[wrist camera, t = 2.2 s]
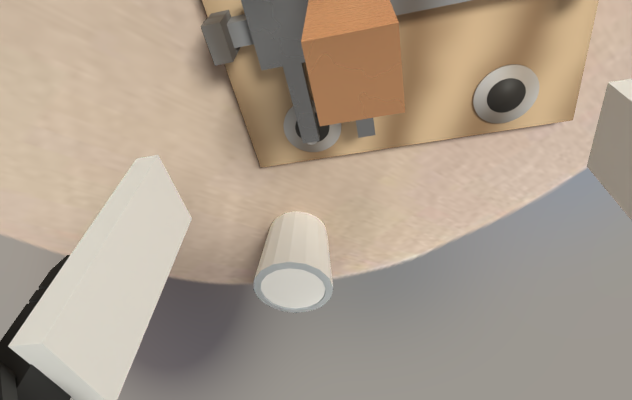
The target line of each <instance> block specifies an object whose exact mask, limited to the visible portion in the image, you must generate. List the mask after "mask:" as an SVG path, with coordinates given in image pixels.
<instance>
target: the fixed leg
mask: <svg viewBox="0 0 632 400" xmlns="http://www.w3.org/2000/svg"><path fill="white" fill-rule="evenodd" d="M308 1H309V0H241V3H242V6H243V9H244V13H245V16H246V19H247V23H248V26H249V29H250V33H251V36H252V40H253V43H254V46H255V50H256V53H257V56H258V60H259V63H260V66H261V70H267V69H272V68H278V67H283V69H284V73H285V77H286V80H287V84H288V88H289V92H290V96H291V100H292V103H293V107H294V111H295V115H296V119H297V122H298V126H299V130H300V134H301V138H302V142H303V144H304V143H308V144H310V145H313V144H315V143H317V141H319V138H320V135H319V130H318V126H317V122H316V117H315V113H314V108H313V104H312V100H311V95H310V91H309V87H308V82H307V78H306V73H305V69H304V65H303V63H304V62H305V58H304V54H303V49H302V45H301V39H302V34H303V28H304V23H305V17H306V12H307V6H308Z"/></svg>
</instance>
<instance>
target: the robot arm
mask: <svg viewBox="0 0 632 400" xmlns="http://www.w3.org/2000/svg"><path fill="white" fill-rule="evenodd" d="M587 167H588V168H589V169H590V171H591V172H592V173H593V174H594V176H595V177H596V178H597V179H598V180H599V181H600V182H601V184H602V185H603V186H604V188H605V189H606V190H607V191H608V192H609V194H610V195H611V196H612V197H613V198H614V200H615V201H616V202H617V203H618V205H619V206H620V207H621V208H622V209H623V210H624V212H625V213H626V214H627V215H628V217H629V218H630V219H631V220H632V79H627V80H620V81H614V82H608V85H607V89H606V93H605V97H604V101H603V104H602V108H601V112H600V116H599V120H598V124H597V128H596V132H595V136H594V140H593V144H592V148H591V152H590V156H589V160H588V164H587ZM191 219H192V218H191V216H190V214H189V212H188V210H187V208H186V206H185V204H184V202H183V201H182V199H181V197H180V195H179V193H178V191H177V189H176V187H175V185H174V184H173V182H172V180H171V178H170V176H169V174H168V172H167V170H166V168H165V167H164V165H163V163H162V161H161V159H160V157H159V155H155V156H149V157H142V158H136V160H135V161H134V163H133V164H132V166H131V167H130V169H129V170H128V172H127V173H126V175H125V176H124V177H123V179H122V180H121V182H120V183H119V185H118V186H117V188H116V189H115V191H114V192H113V194H112V195H111V196H110V198H109V199H108V201H107V202H106V204H105V205H104V207H103V208H102V210H101V211H100V213H99V214H98V215H97V217H96V218H95V220H94V221H93V223H92V224H91V226H90V227H89V229H88V230H87V232H86V233H85V234H84V236H83V237H82V239H81V240H80V242H79V243H78V245H77V246H76V248H75V249H74V250H73V252H72V253H71V255H67V256H66V257H65V258H64V259H63V260H61V261H60V262H59V263H58V264H57V265H56V266H55V267H54V268H53V269H52V270H50V272H49V273H48V275H47V276H46V277H45V279H44V280H43V282H42V283H41V284H40V286H39V290H36V292H35V293H34V294H33V296H32V297H31V299H30V300H29V302H30V303H29V304H26V306H25V307H24V309H23V310H22V311H21V313H20V314H19V316H18V317H17V318H16V320H15V321H14V323H13V324H12V326H11V327H10V329H9V330H8V331H7V333H6V334H5V336H4V337H3V338H2V340H1V341H0V400H70V398H72V399H73V400H117V399H118V397H119V394H120V392H121V389H122V387H123V385H124V382H125V379H126V377H127V375H128V372H129V370H130V367H131V365H132V363H133V360H134V358H135V355H136V353H137V351H138V348H139V345H140V343H141V341H142V338H143V336H144V334H145V331H146V329H147V326H148V324H149V321H150V319H151V317H152V314H153V312H154V309H155V307H156V304H157V302H158V300H159V297H160V295H161V292H162V290H163V287H164V285H165V283H166V280H167V278H168V275H169V273H170V270H171V268H172V266H173V263H174V261H175V258H176V256H177V253H178V251H179V249H180V246H181V244H182V241H183V239H184V236H185V234H186V232H187V229H188V227H189V224H190V222H191Z"/></svg>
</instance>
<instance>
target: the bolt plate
mask: <svg viewBox="0 0 632 400" xmlns="http://www.w3.org/2000/svg"><path fill="white" fill-rule="evenodd" d="M598 1H599V0H390V2H391V5H392V7H393V10H394V12H395V15H396V17H397V20H398V22H399V32H400V46H401V60H402V73H403V87H404V100H405V113H398V114H392V115H386V116H380V117H374V118H373V119H374V127H375V134H376V135H373V136H367V137H361V138H358V132H357V126H356V121H350V122H344V123H338V124H332V125H326V126H320V125H319V120H318V116H317V111H316V107H315V103H314V98H313V94H312V89H311V85H310V80H309V76H308V71H307V67H306V63H305V62H304V63H303V65H304V69H305V73H306V78H307V82H308V87H309V91H310V95H311V100H312V104H313V108H314V113H315V117H316V122H317V126H318V130H319V135H320V138H319V141H317V143H315V144H313V145H310V144H308V143H304V144H303V142H302V138H301V134H300V130H299V126H298V122H297V119H296V115H295V111H294V107H293V103H292V100H291V96H290V92H289V88H288V84H287V80H286V77H285V73H284V69H283V67H278V68H272V69H267V70H261V66H260V63H259V60H258V56H257V53H256V50H255V46H254V43H253V40H252V36H251V33H250V29H249V26H248V23H247V19H246V16H245V13H244V9H243V6H242V3H241V0H202V2H203V5H204V8H205V11H206V13H207V16H208V18H207V19H206V21H205V22H204V23H203V24H202V25H201V29H202V32H203V34H204V37H205V40H206V43H207V45H208V48H209V51H210V53H211V56H212V59H213V62H214V64H215V66H216V65H221V64H225V67H226V70H227V73H228V76H229V79H230V81H231V84H232V87H233V90H234V93H235V96H236V98H237V101H238V104H239V107H240V110H241V113H242V115H243V118H244V121H245V124H246V127H247V130H248V132H249V135H250V138H251V141H252V144H253V147H254V149H255V152H256V155H257V158H258V161H259V164H260V166H261V168H262V167H269V166H275V165H282V164H288V163H295V162H301V161H308V160H315V159H321V158H328V157H334V156H341V155H347V154H354V153H361V152H367V151H374V150H380V149H387V148H393V147H400V146H407V145H413V144H420V143H426V142H433V141H439V140H446V139H453V138H459V137H466V136H472V135H479V134H485V133H492V132H499V131H505V130H512V129H518V128H525V127H531V126H538V125H545V124H551V123H558V122H564V121H571V120H573V117H574V113H575V108H576V103H577V99H578V94H579V89H580V85H581V80H582V75H583V71H584V66H585V61H586V57H587V52H588V47H589V43H590V38H591V33H592V29H593V24H594V20H595V15H596V10H597V6H598Z"/></svg>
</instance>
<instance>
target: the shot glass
mask: <svg viewBox="0 0 632 400" xmlns="http://www.w3.org/2000/svg"><path fill="white" fill-rule="evenodd" d="M332 282H333V281H332V272H331V263H330V254H329V245H328V236H327V231H326V228H325V225H324V223H323V222H322V221H321V220H320V219H319V218H318V217H316V216H314V215H311V214H309V213H306V212H298V211H294V212H289V213H284V214H282V215H281V216H279V217H277V218H276V219H275V220H274V222H273V223H272V224H271V226H270V230H269V233H268V236H267V239H266V242H265V246H264V249H263V252H262V255H261V259H260V262H259V265H258V268H257V271H256V275H255V278H254V289H253V290H254V291H255V293H256V295H257V297H258V298H259V299H260V300H261V301H262V302H264V303H265V304H266V305H268V306H269V307H272V308H275V309H277V310H280V311H285V312H294V313H299V312H307V311H312V310H314V309H317V308H319V307H321V306H323V305H324V304H325V303H326V302H327V301H328V300H329V299H330V298H331V295H332V291H333V283H332Z"/></svg>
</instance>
